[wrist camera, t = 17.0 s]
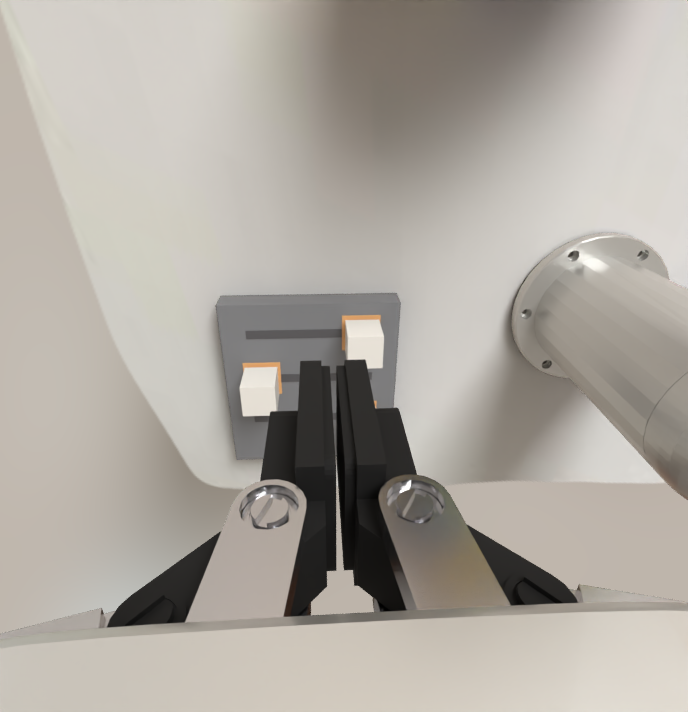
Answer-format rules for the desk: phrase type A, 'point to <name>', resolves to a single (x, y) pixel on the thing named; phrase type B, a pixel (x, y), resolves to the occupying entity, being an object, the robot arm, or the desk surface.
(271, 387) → the middle slider knob
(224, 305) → the switch panel
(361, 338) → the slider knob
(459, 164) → the desk surface
